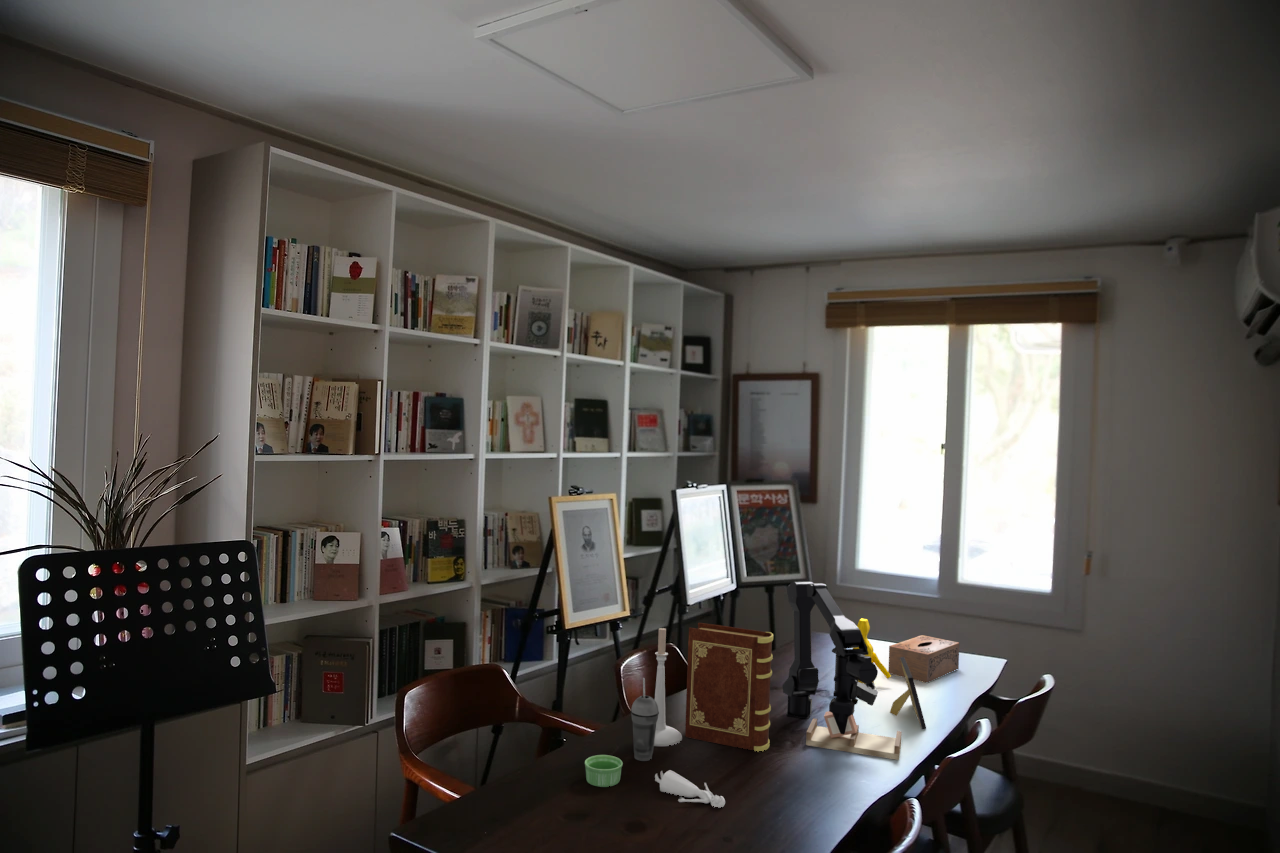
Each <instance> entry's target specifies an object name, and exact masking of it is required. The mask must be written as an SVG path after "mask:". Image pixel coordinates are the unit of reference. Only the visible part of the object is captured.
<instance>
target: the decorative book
mask: <svg viewBox="0 0 1280 853" xmlns="http://www.w3.org/2000/svg"><path fill="white" fill-rule="evenodd" d="M773 641H774V633H772V632H771V631H762V630H755V629H749V628H748V629H747V628H742V627H741V628H740V627H735V626H733V627H732V626H726V625H721V624H712V623H703V622H698V623H697V628H695V627H688V641H687V642H688V646H687V665H686V666H687V672H686V674H687V676H686V697H685V698H686V699H685V700H686V702H685V723H684V724H685V725H684V726H685V727H684V728H685V729H684V730H685V731H684V732H685V733H684V734H685V735H684V736H685V738H688V739H694V740H697V741H702V742H708V743H711V744H712V743H714V744H717V745H724V746H728V747H733V748H737V747H738V749H742V748H743V750H747V749H748V750H749V751H753V750H754V751H753V752H756V751H757V753H760V752H759V751H762V752H765V751H767V750H768V749H769V748H770V745H771V744H770V743H771V742H770V739H769V729H770V727H771V720H770V712H771V710H772V706H771V705H772V704H770V700H771V677H772V675H773V670H772V668H771V667H772V660H773V659H774V658H773V653H772V645H773V644H772V643H773ZM764 750H765V751H764Z"/></svg>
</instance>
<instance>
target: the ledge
mask: <svg viewBox="0 0 1280 853" xmlns="http://www.w3.org/2000/svg"><path fill="white" fill-rule="evenodd" d="M856 725H857V732H856V733H853V734H849V735H844V736H839V737H834V738H831V737H830V733H829V730H828V727H827V726H826V727H825V726H818V718H812V720H811V722H810V724H809V726H808V728H807V730H806V738H805V745H806V746H810V747H816V748H821V749H826V750H827V749H828V750H834V751H841V752H845V753H846V752H847V753H853V754H859V755H866V756H872V757H878V758H884V759H891V760H897V761H900V757H901V756H900V755H901V748H902V735H903V734H902V733H903V732H902V731H899V730H897V731H896V736H895V737H892V736H885V735H879V734H872V733H864V732H860V731H859V729H860V728H859V727H860V725H859V724H856Z"/></svg>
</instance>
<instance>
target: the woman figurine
mask: <svg viewBox="0 0 1280 853" xmlns="http://www.w3.org/2000/svg"><path fill="white" fill-rule="evenodd" d="M659 777H660V778H659ZM654 778H655V779H654V781H655V782H657V783H659V791H660V792H661V793H665V792H666V793H665V794H669V793H670V795H672V794H674V795H673V796H677V795H679V796H678V797H679V798H678V800H677V801H678V802H679V803H685V802H687V803H690V802H691V803H704V804H709V803H710V805H711V806H712V807H713V806H714V807H713V808H715V807H718V808H717V809H720V808H721V807H722V808H723V807H724V806H725V804H726V800H725V798H724V796H722V795H720V796H719V795H717V794H715V795H714V794H713V792H711V791H710V789H709V787H708V785H707V782H703V783H704V787H705V789H704V790H703V789H700V788H699V787H698V786H697V785H695V784H694V783H693V782H691V780H688V779H686V778H685V777H684V776H682V775H680V774H678V773H677V772H675V771H674V770H671V769H669V770H667V771H666V772H665V773H663V770H661V771H660V776H659V775H658V773H655V774H654ZM682 796H684V797H682ZM696 797H699V798H696ZM685 798H692V799H685ZM693 798H694V799H693Z"/></svg>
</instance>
